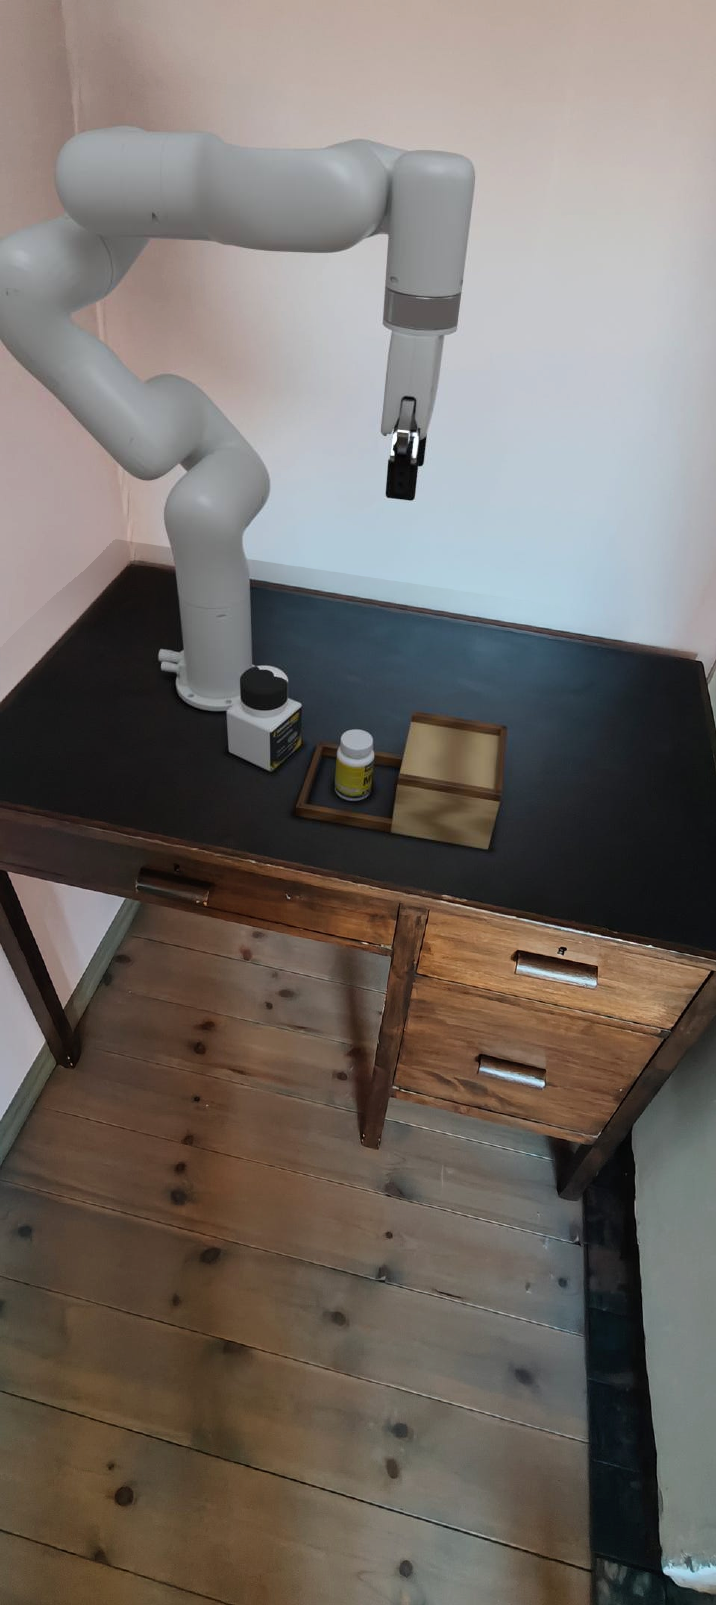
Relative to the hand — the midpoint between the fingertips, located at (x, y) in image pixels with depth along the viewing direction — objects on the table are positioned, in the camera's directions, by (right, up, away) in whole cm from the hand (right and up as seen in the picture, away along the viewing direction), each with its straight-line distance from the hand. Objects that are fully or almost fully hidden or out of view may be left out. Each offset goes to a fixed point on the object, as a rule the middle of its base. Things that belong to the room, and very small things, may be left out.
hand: (405, 480), depth 94 cm
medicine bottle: (-18, -29, +18) cm, 39 cm away
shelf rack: (0, -36, +13) cm, 38 cm away
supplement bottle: (-6, -35, +13) cm, 38 cm away
